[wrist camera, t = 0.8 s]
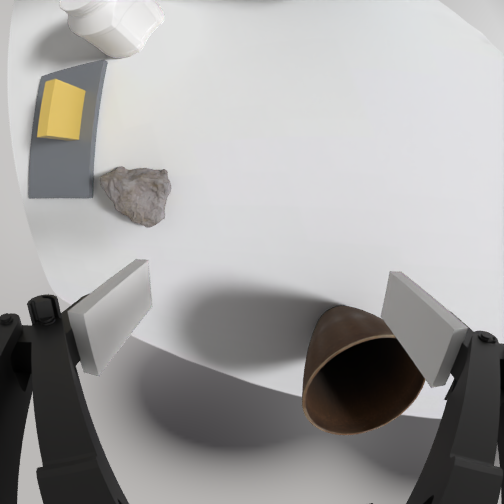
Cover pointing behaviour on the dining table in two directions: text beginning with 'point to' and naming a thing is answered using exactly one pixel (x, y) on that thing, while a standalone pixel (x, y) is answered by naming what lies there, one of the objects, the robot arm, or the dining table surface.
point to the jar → (114, 23)
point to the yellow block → (61, 111)
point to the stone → (138, 193)
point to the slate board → (68, 152)
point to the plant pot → (356, 373)
